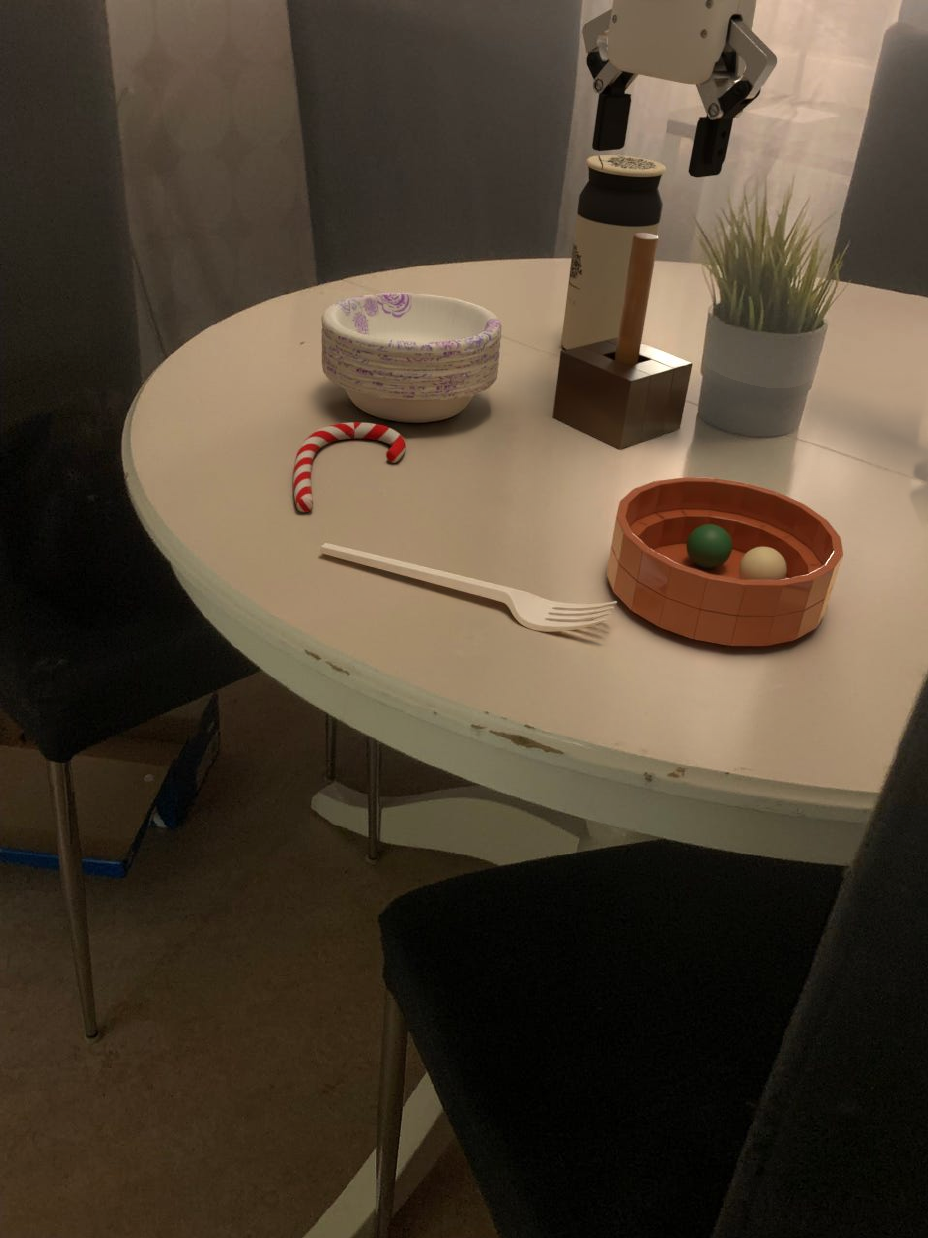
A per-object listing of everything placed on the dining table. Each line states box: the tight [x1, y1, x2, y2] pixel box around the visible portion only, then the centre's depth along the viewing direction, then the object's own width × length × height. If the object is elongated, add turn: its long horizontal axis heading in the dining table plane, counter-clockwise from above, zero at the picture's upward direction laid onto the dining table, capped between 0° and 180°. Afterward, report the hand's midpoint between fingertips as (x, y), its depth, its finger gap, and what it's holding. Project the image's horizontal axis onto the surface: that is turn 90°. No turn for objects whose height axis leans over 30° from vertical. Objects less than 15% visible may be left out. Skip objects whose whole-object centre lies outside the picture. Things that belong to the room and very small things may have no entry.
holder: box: [552, 337, 694, 450], centre depth 93 cm, size 8×8×6 cm
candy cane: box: [292, 421, 407, 513], centre depth 82 cm, size 8×1×15 cm
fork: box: [318, 542, 618, 633], centre depth 69 cm, size 3×20×2 cm, turn 68°
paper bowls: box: [320, 292, 502, 424], centre depth 93 cm, size 15×15×8 cm
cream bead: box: [739, 547, 787, 580], centre depth 70 cm, size 3×3×3 cm
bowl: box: [606, 476, 844, 647], centre depth 70 cm, size 14×14×5 cm
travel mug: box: [560, 154, 667, 350], centre depth 106 cm, size 8×8×18 cm
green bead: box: [687, 524, 732, 569], centre depth 73 cm, size 3×3×3 cm
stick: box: [614, 233, 659, 366], centre depth 90 cm, size 2×2×16 cm
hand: (654, 161), depth 83 cm, fingers open, 9 cm apart
